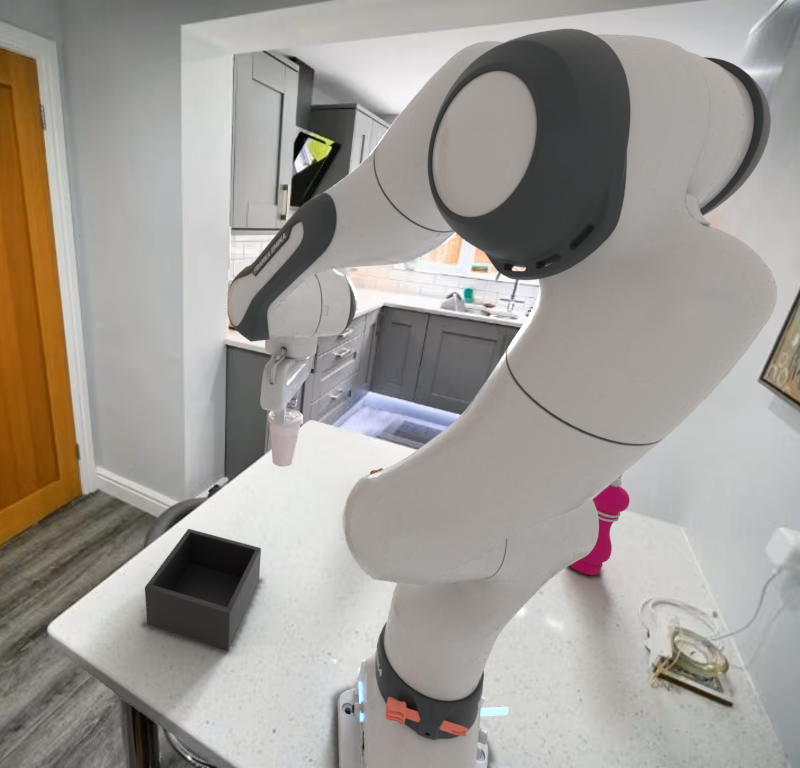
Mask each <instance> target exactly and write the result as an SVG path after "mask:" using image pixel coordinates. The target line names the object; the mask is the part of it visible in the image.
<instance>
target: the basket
mask: <svg viewBox="0 0 800 768" xmlns="http://www.w3.org/2000/svg"><path fill="white" fill-rule="evenodd" d="M261 553H262V548H261V547H259V546H255V545H252V544H248V543H244V542H241V541H238V540H237V541H236V540H232V539H229V538H225V537H221V536H218V535H214V534H210V533H207V532H203V531H198V530H195V529H191V528H188V529H186V531H185V532H184V534H183V536H182V537H180V539H179V541H178V542H177V543H176V545H175V546H174V548H173V549H172V550H171V551H170V553H169V554H168V556H167V557H166V558H165V560H163V562H162V563H161V565H160V566H159V567H158V569H157V570H156V572H155V573H154V574H153V576H152V577H151V578H150V580H149V581H148V582H147V584H146V585H145V586H144V596H145V597H144V598H145V610H146V611H145V612H146V625H150V626H152V627H155V628H159V629H162V630H165V631H168V632H171V633H173V634H177V635H180V636H183V637H185V638H189V639H192V640H195V641H198V642H201V643H204V644H207V645H211V646H213V647H217V648H220V649H223V650H226V651H230V649H231V647H232V644H233V642H234V640H235V638H236V635H237V633H238V630H239V628H240V625H241V624H242V622H243V620H244V617H245V615H246V613H247V610H248V608H249V605H250V603H251V601H252V598H253V596H254V594H255V592H256V589H257V587H258V585H259V583H260V571H261Z"/></svg>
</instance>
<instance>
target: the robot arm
mask: <svg viewBox="0 0 800 768" xmlns="http://www.w3.org/2000/svg"><path fill="white" fill-rule="evenodd" d="M771 122H772V120H771V109H770V106H769V101H768V99H767V97H766V95H765V92H764V91H763V89H762V87H761V86H760V84H759V83H758V82H757V81H756V80H755V79H754V78H753V77H752V76H751V75H750V74H749V73H747V71H745V70H744V69H742V67H740V66H738V65H736V64H734V63H732V62H730V61H727V60H724V59H721V58H716V57H706V56H704V57H703V56H701V55H699V54H696V53H694V52H691V51H689V50H686V49H685V48H683V47H681V46H680V45H679V44H676V43H674V42H671V41H669V40H666V39H661V38H656V37H651V36H643V35H633V34H632V35H631V34H594V33H592V32H589V31H587V30H583V29H577V28H559V29H549V30H544V31H538V32H534V33H533V32H532V33H528V34H526V35H522V36H519V37H515V38H513V39H510V40H507V41H505V42H504V41H497V40H485V41H480V42H475V43H473V44H470V45H467V46H465V47H464V48H462V49H460V50H459V51H457V52H456V53H455V54H454V55H452V56H451V57H450V58H449V59H448V60H447V61H446V62H445V63H444V64H443V65H442V66H441V67H440V68H439V69H438V70H436V72H435V73H434V74H433V75H432V76H431V77H430V78H429V79H428V80H427V81H426V82H425V84H424V85H423V86H422V87H421V88H420V89H419V90H418V91H417V92H416V93H415V95H414V96H413V97H412V98H411V99H410V101H408V103H407V104H406V105H405V106H404V108H403V109H402V111H400V113H399V114H398V115H397V116H396V117H395V119H394V121H393V122H392V123H391V125H390V126H389V127H388V129H387V130H386V131H385V132H384V133H383V134H384V135H383V136H382V137H381V138H380V139H379V141H378V143H377V144H376V146H375V147H374V148H373V150H371V152H370V153H369V155H368V156H367V157H366V158H365V159H363V161H361V163H359V164H358V165H357V166H356V167H355V168H354V169H353V170H352V171H351V172H350V173H348V174H347V175H345V176H344V177H343V178H342V179H341V180H340V181H338V182H337V183H336V184H334V185H332V186H330V187H329V188H328V189H326V190H325V191H324V192H321V193H318V194H317V195H315V196H314V197H312V198H310V199H309V200H306V202H304V203H303V204H302V205H301V206H300V207H298V209H296V211H295V212H294V213H293V214H292V215H291V216H290V217H289V219H288V220H287V221H286V222H285V224H284V225H283V226H282V227H281V228H280V229H279V230H278V232H277V233H276V234H275V236H273V238H272V239H271V240H270V242H269V243H268V244H267V245H266V246H265V247H264V249H263V250H262V251H261V252H260V253H259V255H258V256H257V258H256V259H255V260H254V261H253V262H252V263H251V264H250V265H247V266H245V267H244V268H243V269H241V271H239V272H238V274H236V276H235V277H234V278H233V280H232V281H231V283H230V286H229V289H228V293H227V315H228V320H229V322H230V325H231V326H232V328H234V330H235V331H236V332H237V333H238V334H239V335H240V336H242V337H244V338H245V339H246V340H247V341H249V342H251V343H253V342H260V341H264V350H265V351H266V352H267V353H268V354H271V358H270V359H269V360H268V361H267V362H266V363H265V366H264V368H263V372H262V376H261V377H262V378H261V387H260V396H259V398H260V399H259V404H260V407H261V409H262V410H264V411H269V412H270V411H273V412H274V423H275V424H280V425H283V424H284V422H285V421H286V414H287V413H285V408H288V409H293V410H295V408H296V407H297V405H298V398H299V394H300V390H301V386H302V385H303V384H304V382H305V381H306V380H307V378H308V377H309V376H310V374H311V372H312V367H313V363H314V358H315V354H316V353H317V350H318V349H317V347H318V343H319V341H320V338H323V337H332V336H338V335H341V334H343V333H344V332H345V331H346V330H348V328H349V327H350V326H351V324H352V322H353V321H354V318H355V315H356V312H357V305H358V294H357V290H356V288H355V285H354V284H353V282H352V281H351V279H350V278H348V276H347V275H345V273H343V272H339V271H338V270H339V269H347V268H359V267H374V266H375V267H376V266H390V265H391V266H392V265H399V264H405V263H409V262H412V261H415V260H417V259H419V258H421V257H423V256H425V255H427V254H429V253H431V252H433V251H434V250H436V249H438V248H439V247H441V246H443V245H444V244H445V243H447V242H448V241H449V240H451V238H453V237H454V236H455V235H458V236H459V237H460V238H461V239H463V240H464V241H465V242H467V243H468V244H470V245H471V246H473V247H475V248H476V249H478V250H480V251H482V252H483V253H484V254H485V256H486V257H487V259H488V260H489V262H490V263H491V264H492V266H493V267H494V269H495V270H496V271H497V272H498V273H499V274H500V275H502V276H504V277H506V278H508V279H511V280H515V281H534V280H538V294H537V298H536V301H535V303H534V305H533V307H532V309H531V310H530V313H529V314H528V316H527V318H526V319H525V321H524V323H522V326H521V327H520V328H519V330H518V332H516V334H515V336H514V338H513V339H512V341H511V342H510V344H509V346H508V347H507V348H506V350H505V351H504V353H503V355H502V356H501V358H500V359H499V361H498V363H497V364H496V365H495V367H494V369H493V370H492V372H491V373H490V375H489V376H488V377H487V379H486V380H485V382H484V383H483V385H482V386H481V388H480V389H479V390H478V392H477V393H476V395H475V397H474V398H473V399H472V400H471V402H470V403H469V405H468V406H467V407H466V409H465V410H464V411H463V412H462V413H461V414H460V415H459V416H458V417H457V418H456V419H455V420H454V421H453V422H452V423H451V424H449V425H448V426H447V427H446V428H444V429H443V430H442V431H441V432H439V433H438V434H437V435H435V436H434V437H433V438H432V439H430V440H429V441H428V442H426V443H425V444H424V445H422V446H421V447H420V448H418V449H416V450H415V451H414V452H412V453H411V454H409V455H408V456H406V457H404V458H403V459H401V460H399V461H398V462H395V463H394V464H392V465H390V466H388V467H386V468H383V469H384V470H381V471H379V472H376V473H374V474H371V475H369V474H367V475H368V476H367V475H365V476H363V477H361V478H359V479H358V481H357V482H356V483H355V484H354V485H353V486H352V488H351V490H350V492H349V494H348V496H347V498H346V501H345V504H344V507H343V515H342V530H343V536H344V540H345V543H346V546H347V548H348V551H349V553H350V555H351V556H352V558H353V560H354V562H356V564H357V565H358V567H359V568H360V569H361V570H362V571H363V572H364V573H365V574H366V575H367V576H368V577H369V578H370V579H372V580H374V581H375V580H376V581H381V582H388V583H395V584H396V585H395V587H394V589H393V593H392V597H391V602H390V607H389V611H388V615H387V619H386V622H385V623H384V624H383V627H382V628H381V630H380V633H379V636H378V638H377V642H376V650H375V652H373V653H372V654H370V655H368V656H367V657H365V659H362V660H361V664H360V667H358V670H357V674H358V676H357V680H356V683H355V687H353V688H351V689H348V690H345V691H344V692H342V693H341V694H340V695H339V698H338V700H337V735H338V737H337V738H338V768H488V764H489V763H488V762H489V746H488V743H487V742H488V735H489V733H488V731H487V730H486V729H483V728H481V726H480V724H481V717H487V716H488V717H489V716H506V715H508V712H509V707H508V706H499V707H498V706H497V707H495V706H494V707H483V705H484V703H485V697H483V690H484V680H485V667H486V665H487V662H488V660H489V658H490V655H491V653H492V650H493V648H494V646H495V643H496V641H497V639H498V637H499V635H500V634H501V633H502V632H503V630H504V629H505V627H506V626H507V625H508V623H510V622H511V620H512V619H513V618H514V617H515V616H516V615H517V613H519V611H521V609H522V608H523V607H524V606H525V605H526V604H527V603H528V602H529V601H530V600H531V599H532V598H533V597H534V595H536V593H538V591H539V590H540V589H542V588H543V587H544V586H545V585H546V584H547V583H548V582H549V581H550V580H551V579H553V578H554V577H555V576H556V575H558V574H560V572H562V571H563V570H565V569H566V568H569V567H570V565H571V564H573V563H575V562H576V561H578V560H580V559H582V558H584V557H585V556H587V555H588V554H589V553H590V552H591V551H592V549H593V548H594V546H595V544H596V542H597V538H598V533H599V519H598V513H597V510H596V507H595V504H594V502H593V500H592V499H594V498H595V497H596V496H597V495H598V494H600V493H601V492H602V491H603V490H604V489H605V488H607V487H608V486H609V485H610V484H611V483H613V482H614V481H615V480H616V479H617V478H618V479H619V478H620V477H621V476H622V475H623V474H625V473H626V472H627V471H628V470H629V469H630V468H631V467H632V466H634V465H635V464H636V463H637V462H639V461H640V460H641V459H642V458H643V457H644V456H645V455H647V454H648V453H649V452H650V451H651V450H653V449H654V448H655V447H656V446H657V445H658V444H660V443H661V442H663V440H664V439H665V438H667V437H668V436H669V435H670V434H672V432H673V431H674V430H675V429H676V428H678V427H679V426H680V425H681V424H682V423H683V422H684V421H685V420H686V419H688V417H690V416H691V414H693V413H694V411H696V409H697V408H698V407H699V406H700V405H701V404H702V403H703V402H704V401H706V399H707V398H708V397H710V395H711V394H713V392H714V391H715V389H716V388H717V387H718V386H720V384H721V383H722V382H723V380H725V378H726V377H727V376H728V375H729V374H730V372H731V371H732V370H733V369H734V368H735V366H736V365H737V364H738V363H739V361H740V360H741V359H742V357H743V356H744V355H745V354H746V353H747V352H748V350H749V349H750V348H751V346H752V344H753V343H754V342H755V340H756V339H757V338H758V336H759V335H760V333H761V332H762V330H763V329H764V328H765V326H766V325H767V324H768V322H769V321H770V318H771V317H772V315H773V313H774V311H775V308H776V306H777V305H776V304H777V298H778V295H777V294H778V290H777V289H778V287H777V282H776V278H775V277H774V275H773V273H772V271H771V268H770V267H769V266H768V265H767V263H766V262H765V260H764V259H763V258H762V257H761V256H760V255H759V254H758V253H757V252H756V251H755V250H754V249H753V248H752V247H750V246H749V245H748V244H747V243H745V242H744V241H742V240H741V239H739V238H737V237H736V236H735V235H732V234H730V233H728V232H726V231H724V230H722V229H719V228H716V227H713V226H711V222H709V221H708V219H706V218H705V217H704V216H706V215H707V214H709V213H711V212H713V210H715V209H717V208H718V207H719V206H721V205H723V203H725V202H726V201H727V200H729V199H730V198H731V197H732V196H733V195H735V193H737V191H738V190H739V189H741V187H742V186H743V185H744V184H745V183H746V182H747V180H748V179H749V178H750V176H751V175H752V173H753V172H754V171H755V170H756V168H757V166H758V164H759V163H760V161H761V159H762V157H763V155H764V153H765V150H766V147H767V146H768V142H769V138H770V135H771V134H770V133H771V124H772V123H771ZM514 267H517V268H522V269H523V268H524V270H513V268H514ZM346 712H349V714H348V713H346Z"/></svg>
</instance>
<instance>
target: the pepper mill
mask: <svg viewBox="0 0 800 768" xmlns="http://www.w3.org/2000/svg"><path fill="white" fill-rule="evenodd" d="M592 500H593V502H594V504H595V507H596V510H597V513H598V519H599V533H598V538H597V542H596V544H595V546H594V548H593V549H592V551H591V552H590V553H589V554H588V555H587V556H585V557H584V558H582V559H580V560H578V561H576V562H575V563H573V564H571V565H570V566H569V567H570V568H572V569H573V570H575V571H577V572H578V573H580V574H584V575H587V576H588V575H589V576H596V575H598V574H599V573H600V572H601V570H602V568H603V563H605V562H607V561H609V560H610V558H611V555H612V549H613V547H612V546H613V545H612V540H611V528H612V525H613V524H614V523H615V522H618V521H619V519H620V516H621V513H622V512H624V511H626V510H627V509H628V507H629V504H630V495H629V493H628V491H627V490H626V489H625V488H623V486H622V480H621V479H620V478H619V477H618V478H617V479H616V480H615V481H614V482H613V483H611V484H610V485H609V486H608V487H607V488H605V489H604V490H603V491H602V492H601V493H600V494H598V495H597V496H596V497H595V498H594V499H592Z"/></svg>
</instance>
